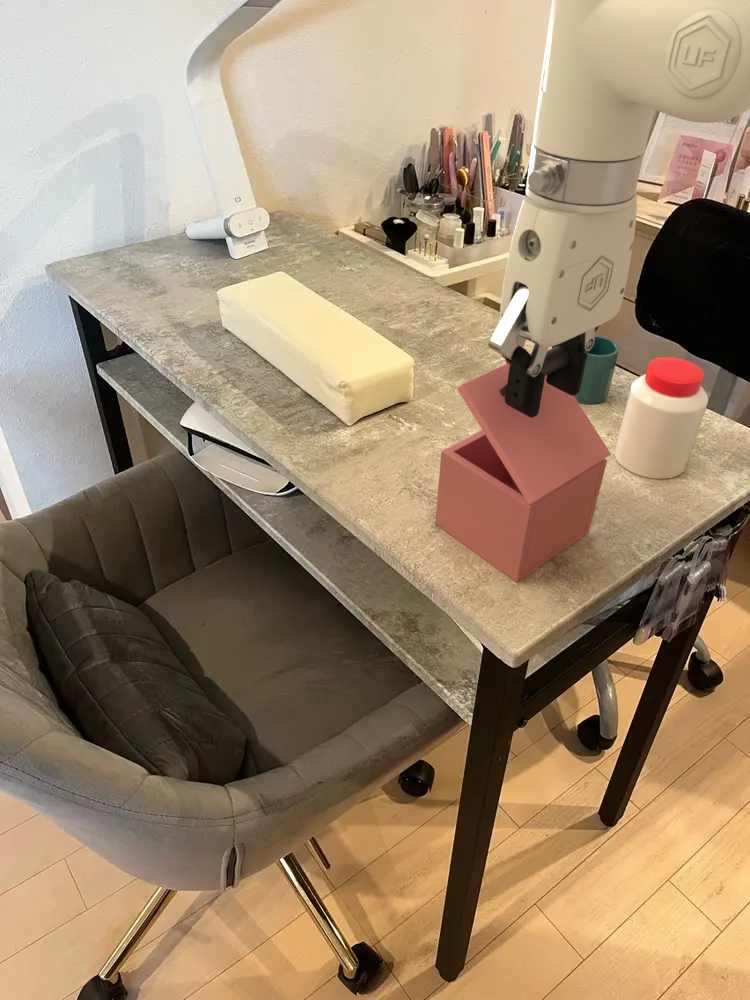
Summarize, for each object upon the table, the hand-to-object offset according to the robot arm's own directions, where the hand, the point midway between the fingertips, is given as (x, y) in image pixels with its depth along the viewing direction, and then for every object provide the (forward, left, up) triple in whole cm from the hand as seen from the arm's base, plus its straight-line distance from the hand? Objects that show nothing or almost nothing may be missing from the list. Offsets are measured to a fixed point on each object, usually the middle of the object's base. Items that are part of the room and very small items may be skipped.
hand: (542, 397), depth 65 cm
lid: (0, 0, -3) cm, 3 cm away
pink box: (+1, 0, -15) cm, 15 cm away
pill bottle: (-11, -17, -16) cm, 26 cm away
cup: (-3, -29, -15) cm, 33 cm away
